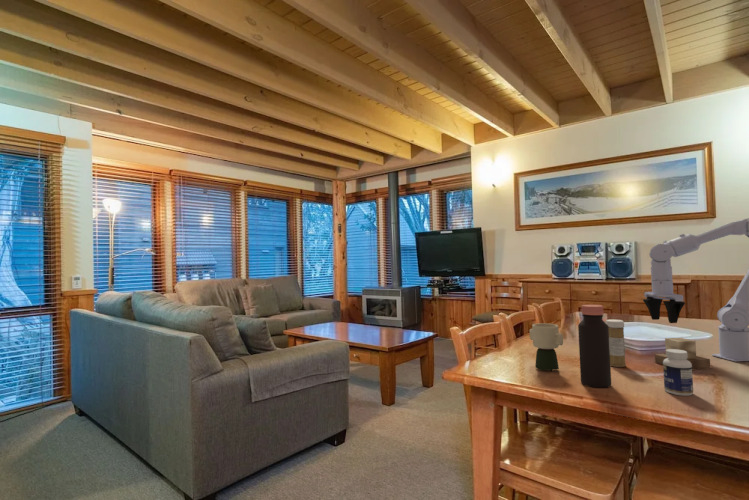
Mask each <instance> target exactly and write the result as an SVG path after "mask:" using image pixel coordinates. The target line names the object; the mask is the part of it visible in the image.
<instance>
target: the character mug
mask: <svg viewBox="0 0 749 500" xmlns="http://www.w3.org/2000/svg"><path fill="white" fill-rule="evenodd" d="M531 326H532V327H531V328H530V329H529V330H528V331H529V339H530V340H531V341H532V346H533V347H534V348H537V350H536V354H535V355H536V357H535V368H536V369H537V370H540V371H550V372H552V371H555V370H560V368H559V362H558V361H559V360H558V356H557V352H556V350H555V349H558V348H559V346H563V345H564V337H563V334H562V333H559V325H558V324H554V323H544V322H543V323H533V324H532V325H531Z"/></svg>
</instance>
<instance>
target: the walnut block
mask: <svg viewBox="0 0 749 500" xmlns="http://www.w3.org/2000/svg"><path fill="white" fill-rule="evenodd" d="M666 358H668V357H667V356H666V352H665V353H655V354H654V363H655V364H658V365H662V366H663V361H664V359H666ZM686 360H688V361H689V362H691V364H692V371H695V369H696V370H703V369H704V370H706V369H711V359H710V358H707V357H702V356H699V355H696V359H686Z"/></svg>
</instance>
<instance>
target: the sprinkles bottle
mask: <svg viewBox="0 0 749 500" xmlns="http://www.w3.org/2000/svg"><path fill="white" fill-rule="evenodd" d="M605 323H606V324H607V325H608V327H609V347H610V367H611V366H612V367H615V368H624V367H626V365H627V364H626V346H625V345H626V344H625V332H624V331H625V329H624V328H625V321H624V320H622V319H616V318H615V319H606V320H605Z"/></svg>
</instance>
